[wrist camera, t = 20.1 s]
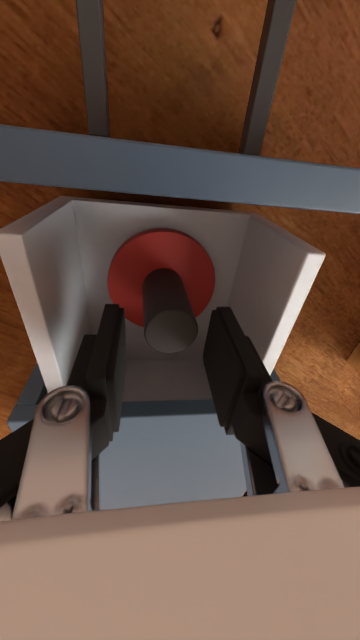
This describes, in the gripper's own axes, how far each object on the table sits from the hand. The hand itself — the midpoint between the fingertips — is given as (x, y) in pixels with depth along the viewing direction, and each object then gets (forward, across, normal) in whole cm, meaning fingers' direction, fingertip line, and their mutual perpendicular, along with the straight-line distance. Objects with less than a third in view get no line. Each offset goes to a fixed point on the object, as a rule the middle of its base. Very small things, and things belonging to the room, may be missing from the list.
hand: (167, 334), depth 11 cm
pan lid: (+5, 0, 0) cm, 5 cm away
